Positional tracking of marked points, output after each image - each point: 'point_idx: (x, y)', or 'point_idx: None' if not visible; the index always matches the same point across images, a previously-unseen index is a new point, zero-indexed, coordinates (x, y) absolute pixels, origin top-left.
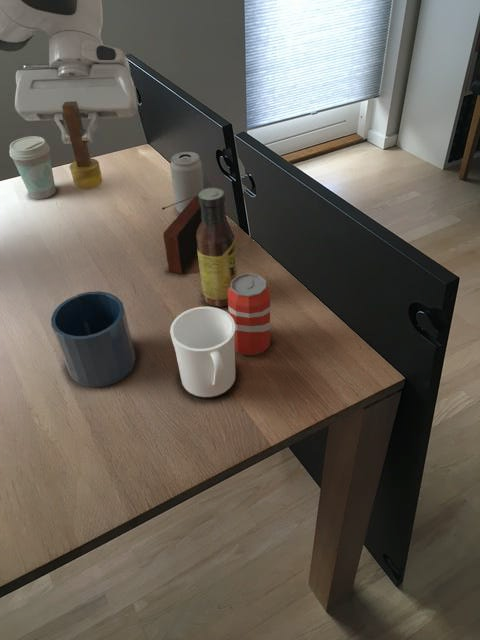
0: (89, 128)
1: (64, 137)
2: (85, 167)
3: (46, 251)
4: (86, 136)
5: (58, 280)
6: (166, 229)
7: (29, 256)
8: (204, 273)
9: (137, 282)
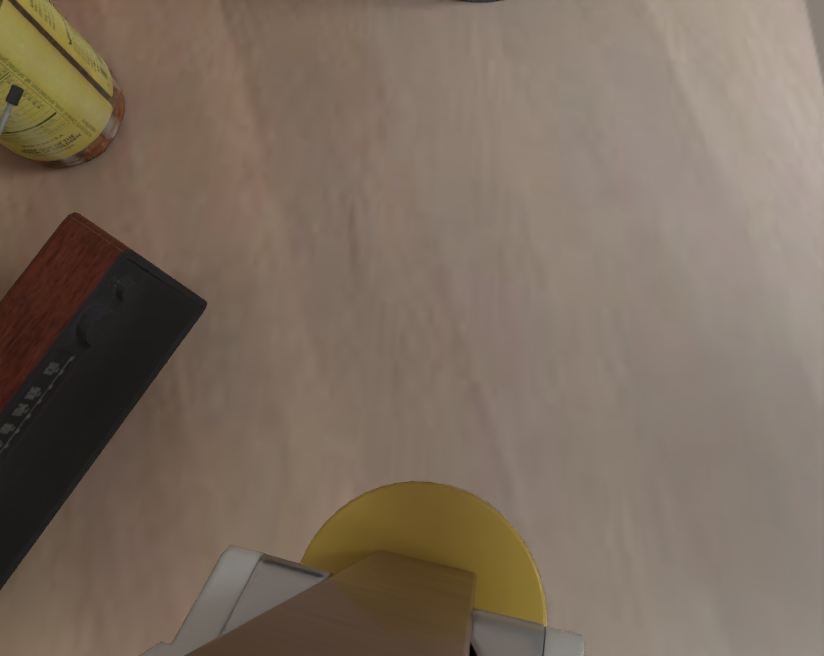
0: (174, 651)
1: (544, 650)
2: (406, 544)
3: (736, 627)
4: (262, 576)
5: (656, 371)
6: (104, 275)
7: (818, 607)
8: (48, 4)
9: (338, 273)
